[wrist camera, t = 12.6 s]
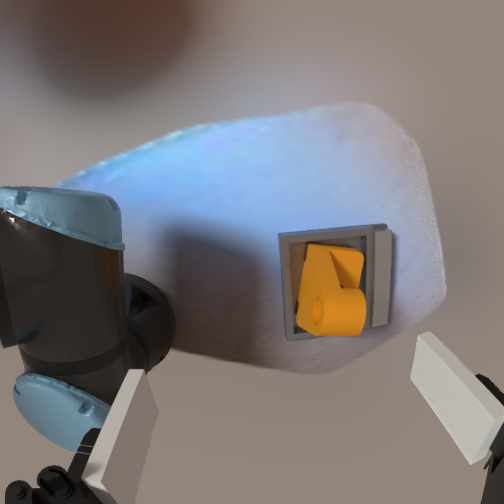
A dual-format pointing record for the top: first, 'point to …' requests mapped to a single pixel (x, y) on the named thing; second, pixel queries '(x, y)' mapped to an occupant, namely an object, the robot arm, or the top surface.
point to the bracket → (331, 292)
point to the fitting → (372, 276)
